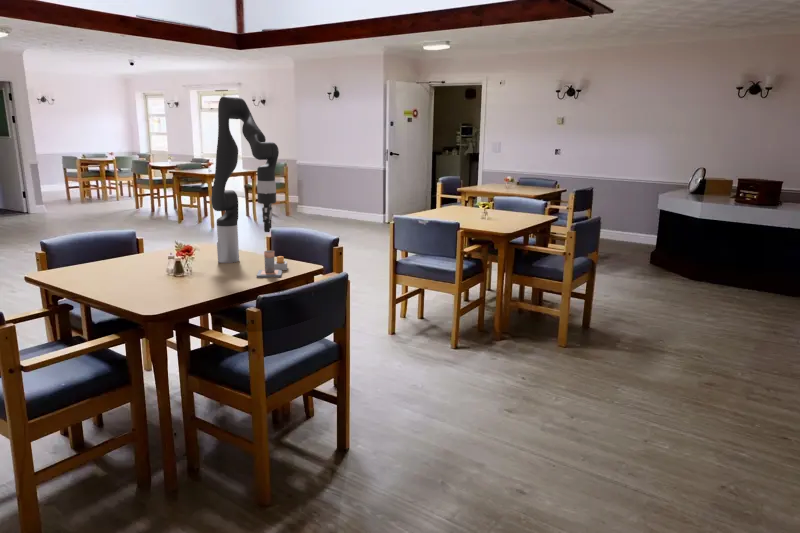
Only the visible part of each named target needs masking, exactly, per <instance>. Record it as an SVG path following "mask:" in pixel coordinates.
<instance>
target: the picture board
mask: <svg viewBox="0 0 800 533" xmlns="http://www.w3.org/2000/svg"><path fill="white" fill-rule="evenodd" d="M282 275H283V271H282V270H275V272H274V273H265V269H258V271H257V274H256V279H261V278H262V279H264V278H265V279H267V278H269V277H275V278H282ZM269 279H270V278H269Z"/></svg>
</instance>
